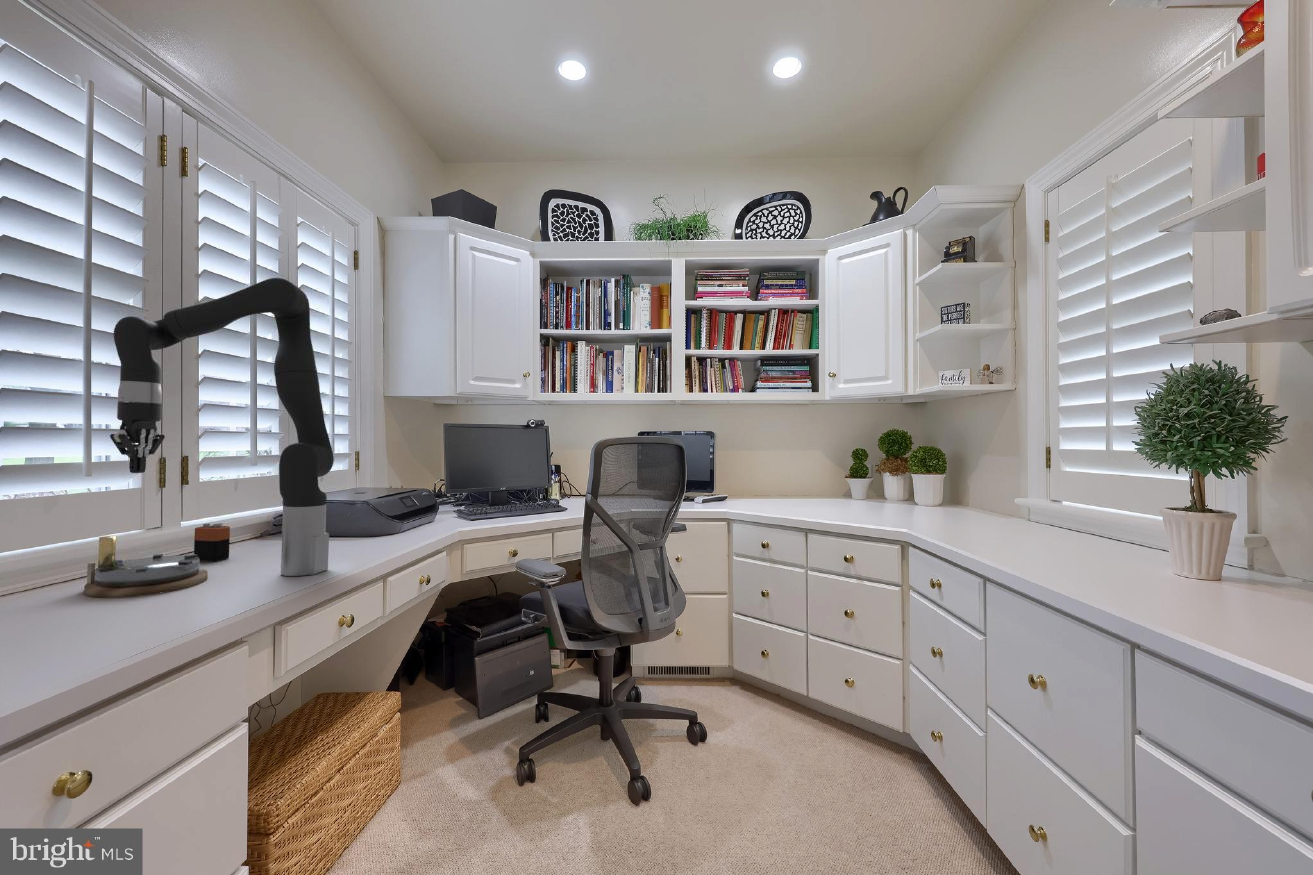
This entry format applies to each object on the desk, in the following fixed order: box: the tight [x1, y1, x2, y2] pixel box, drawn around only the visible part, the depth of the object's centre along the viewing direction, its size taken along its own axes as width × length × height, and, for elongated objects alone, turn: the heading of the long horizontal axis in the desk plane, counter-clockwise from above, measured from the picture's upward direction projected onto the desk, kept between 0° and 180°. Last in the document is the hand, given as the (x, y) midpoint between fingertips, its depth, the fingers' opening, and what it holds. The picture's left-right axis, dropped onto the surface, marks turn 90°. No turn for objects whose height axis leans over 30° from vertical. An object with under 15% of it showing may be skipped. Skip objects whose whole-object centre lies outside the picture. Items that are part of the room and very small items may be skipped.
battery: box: [193, 522, 231, 563], centre depth 142 cm, size 4×7×10 cm, turn 85°
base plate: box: [83, 562, 209, 599], centre depth 118 cm, size 20×20×6 cm
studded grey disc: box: [95, 535, 201, 587], centre depth 118 cm, size 17×17×10 cm
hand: (137, 472), depth 124 cm, fingers closed
